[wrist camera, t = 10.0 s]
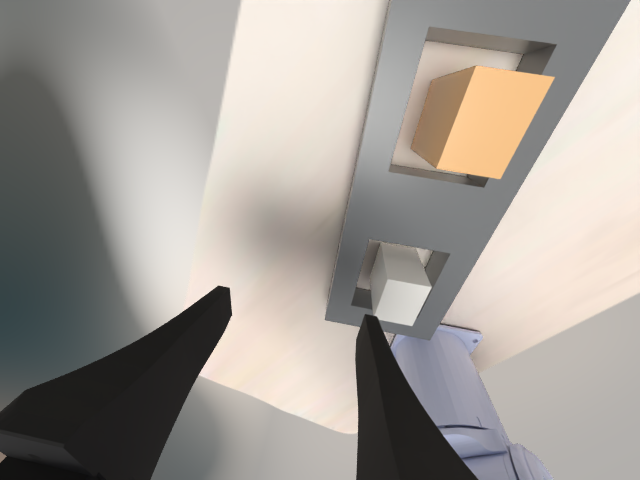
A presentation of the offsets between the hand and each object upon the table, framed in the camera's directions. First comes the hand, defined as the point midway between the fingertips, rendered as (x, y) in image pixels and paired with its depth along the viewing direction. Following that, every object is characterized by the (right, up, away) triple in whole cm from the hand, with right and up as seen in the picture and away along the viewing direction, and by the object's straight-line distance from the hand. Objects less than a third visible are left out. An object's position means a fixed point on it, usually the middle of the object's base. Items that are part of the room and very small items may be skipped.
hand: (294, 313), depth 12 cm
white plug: (+8, +2, +9) cm, 12 cm away
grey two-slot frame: (+9, +7, +6) cm, 12 cm away
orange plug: (+9, +12, +3) cm, 15 cm away
